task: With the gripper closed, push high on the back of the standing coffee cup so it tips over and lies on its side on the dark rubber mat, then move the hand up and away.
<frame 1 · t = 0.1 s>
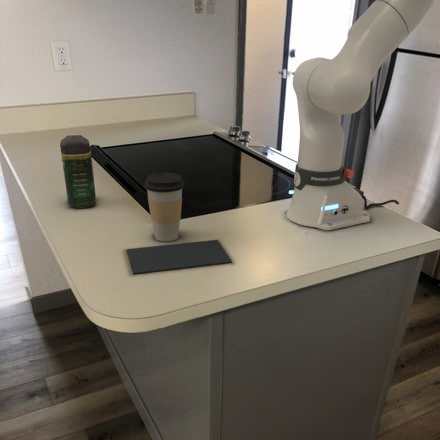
hand: (203, 13, 101), 48 cm above the worktop, tool pointing down, fingers open, 8 cm apart
coffee jar: (82, 203, 140), on the worktop
mat: (178, 256, 111), on the worktop
coffee cup: (166, 237, 121), on the worktop
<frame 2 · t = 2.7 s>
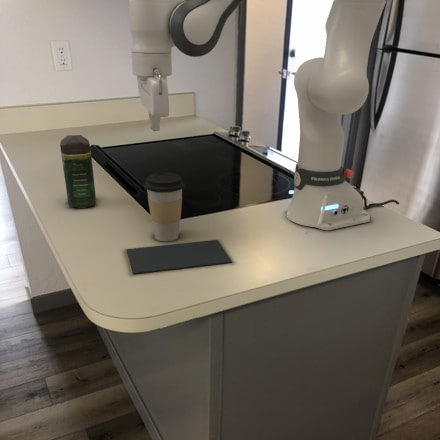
hand: (155, 129, 116), 24 cm above the worktop, tool pointing down, fingers closed
nothing on the worktop moved.
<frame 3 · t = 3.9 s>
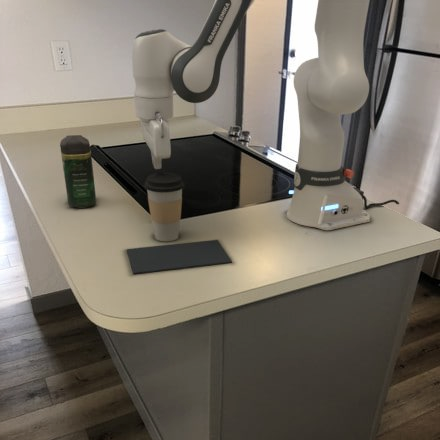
hand: (157, 167, 121), 15 cm above the worktop, tool pointing down, fingers closed
nothing on the worktop moved.
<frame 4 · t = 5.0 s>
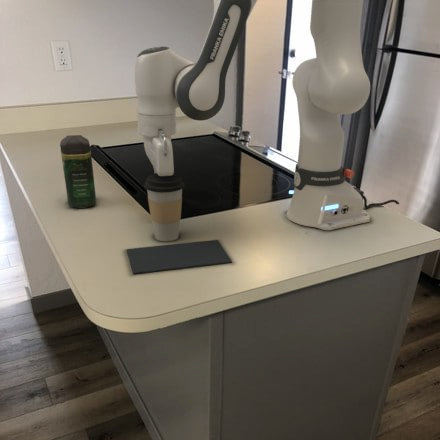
hand: (159, 183, 120), 12 cm above the worktop, tool pointing down, fingers closed
coffee cup: (166, 237, 121), on the worktop, touching gripper
everything else where it was.
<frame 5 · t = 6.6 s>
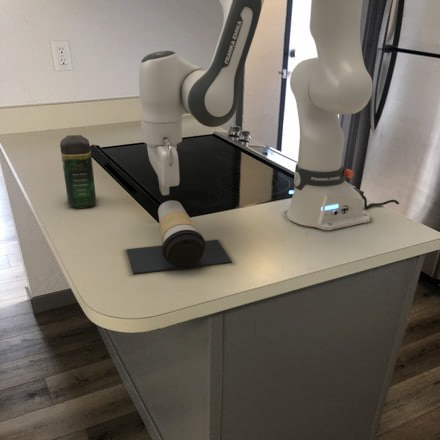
hand: (164, 193, 115), 11 cm above the worktop, tool pointing down, fingers closed
coffee cup: (170, 210, 112), point 9 cm above the worktop, touching mat
everything else where it was.
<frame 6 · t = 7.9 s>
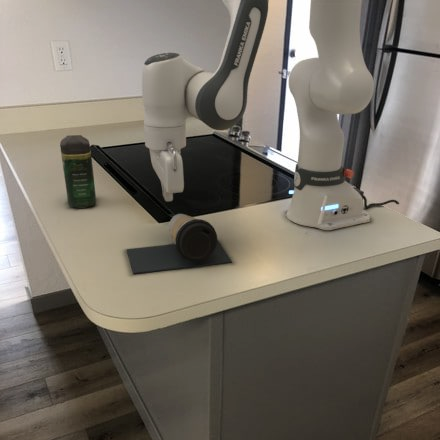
hand: (167, 199, 111), 11 cm above the worktop, tool pointing down, fingers closed
coffee cup: (179, 225, 117), point 4 cm above the worktop, touching mat
everything else where it was.
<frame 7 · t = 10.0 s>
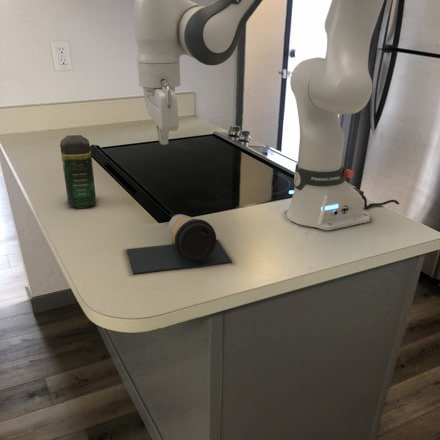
hand: (163, 143, 110), 23 cm above the worktop, tool pointing down, fingers closed
nothing on the worktop moved.
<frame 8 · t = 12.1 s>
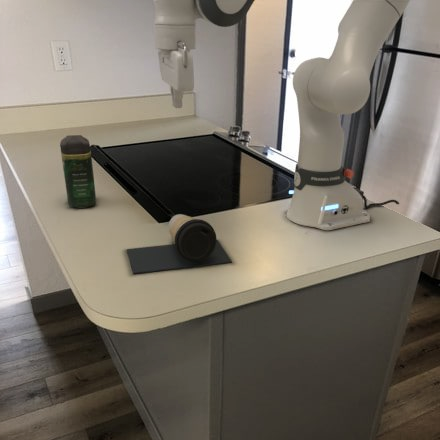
hand: (177, 107, 113), 29 cm above the worktop, tool pointing down, fingers closed
nothing on the worktop moved.
at the end: coffee cup tilted 82°; coffee cup touching mat; the gripper is holding nothing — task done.
